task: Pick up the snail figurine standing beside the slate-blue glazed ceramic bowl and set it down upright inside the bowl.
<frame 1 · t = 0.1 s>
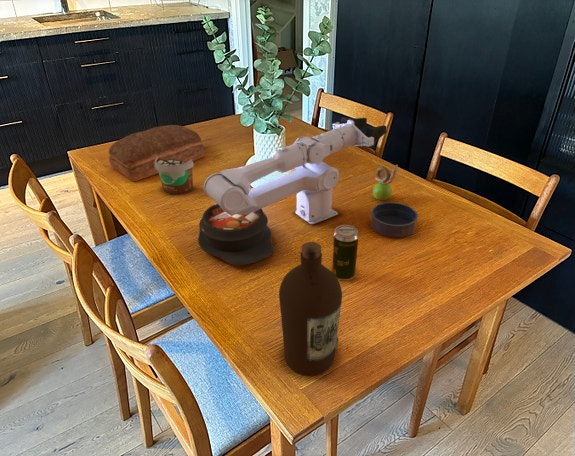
hand: (375, 125, 126), 22 cm above the table, tool horizontal, fingers open, 7 cm apart
casserole: (235, 242, 117), on the table
food container: (174, 192, 141), on the table
snail figurine: (382, 200, 135), on the table
bowl: (392, 226, 123), on the table
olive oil: (309, 357, 86), on the table
bread: (159, 163, 159), on the table
beer can: (343, 274, 106), on the table
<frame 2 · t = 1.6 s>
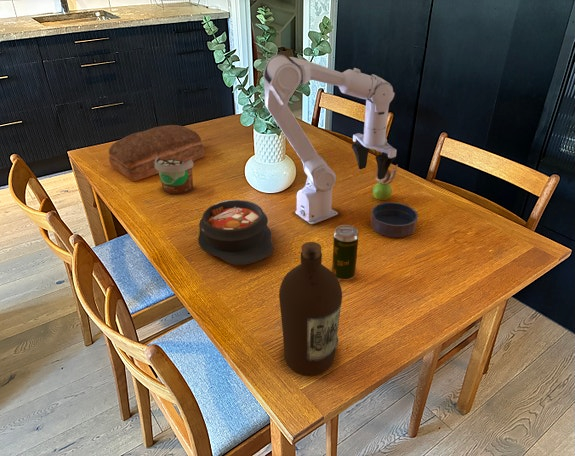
hand: (371, 173, 126), 10 cm above the table, tool pointing down, fingers open, 7 cm apart
nothing on the table moved.
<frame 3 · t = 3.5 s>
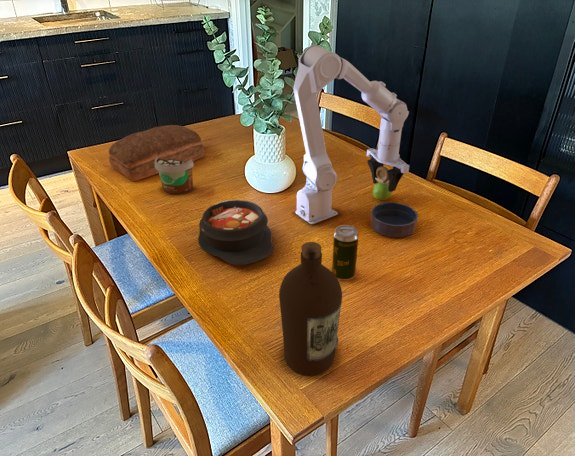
hand: (384, 186, 132), 4 cm above the table, tool pointing down, fingers closed on snail figurine, 6 cm apart
snail figurine: (382, 200, 135), on the table, touching gripper
everything else where it was.
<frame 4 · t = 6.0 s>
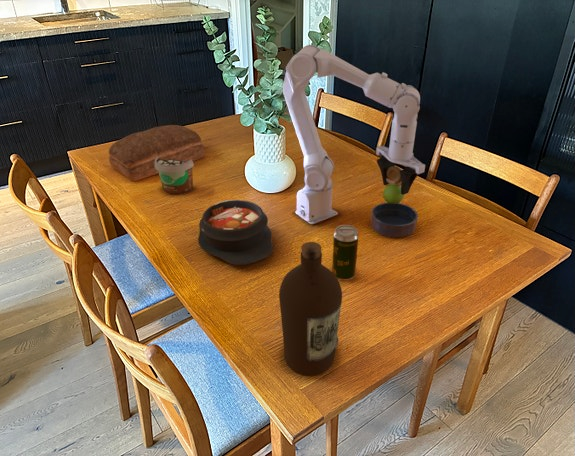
hand: (395, 188, 118), 10 cm above the table, tool pointing down, fingers closed on snail figurine, 6 cm apart
snail figurine: (393, 204, 121), point 6 cm above the table, touching gripper
everything else where it was.
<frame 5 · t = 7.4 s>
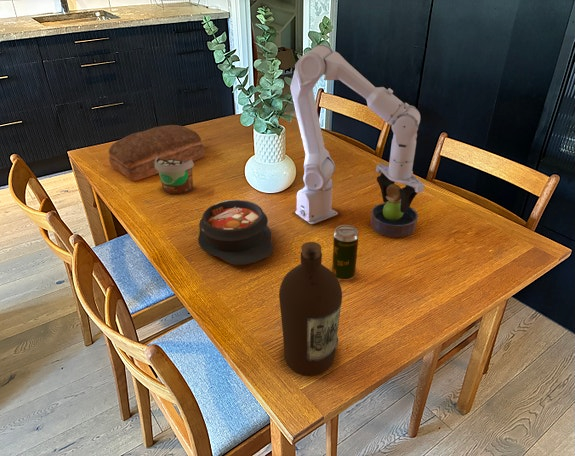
hand: (395, 206, 119), 6 cm above the table, tool pointing down, fingers closed on snail figurine, 6 cm apart
snail figurine: (393, 221, 122), point 2 cm above the table, touching gripper
everything else where it was.
when the fingers open (5 cm above the table, at t = 8.4 s): snail figurine stays where it is, resting on bowl.
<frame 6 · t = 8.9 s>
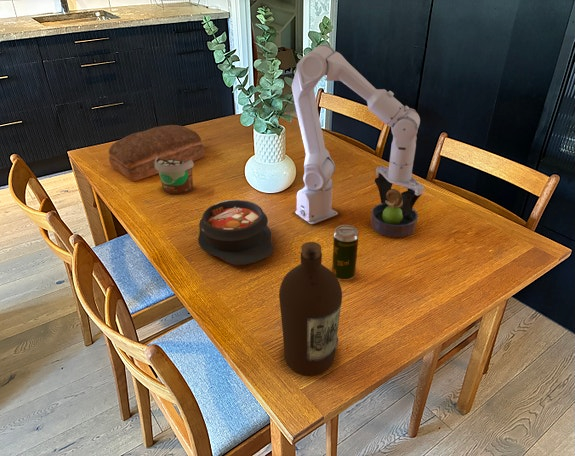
hand: (395, 208, 120), 6 cm above the table, tool pointing down, fingers open, 7 cm apart
snail figurine: (393, 225, 122), resting on bowl
everything else where it was.
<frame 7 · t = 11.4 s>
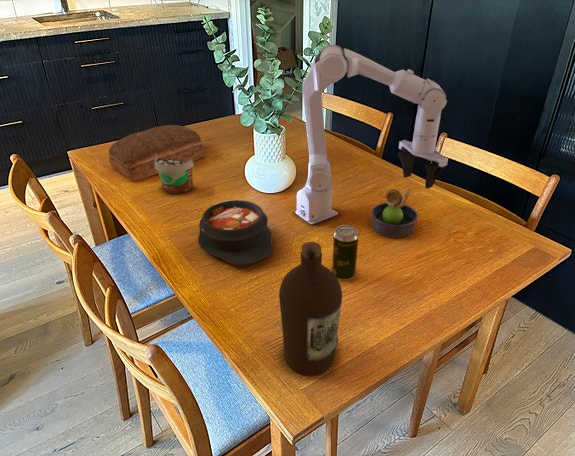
hand: (417, 181, 122), 10 cm above the table, tool pointing down, fingers open, 7 cm apart
nothing on the table moved.
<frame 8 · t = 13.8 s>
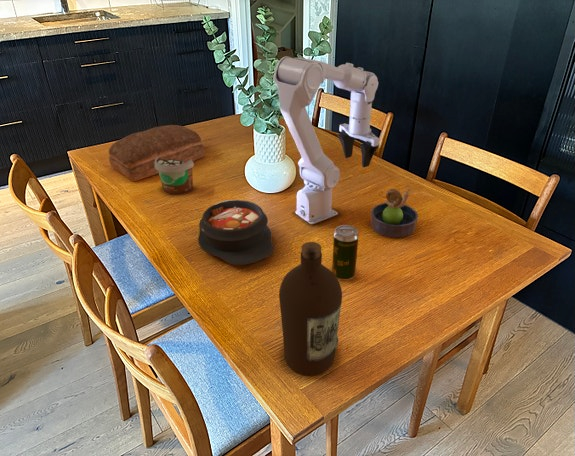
hand: (356, 161, 133), 10 cm above the table, tool pointing down, fingers open, 7 cm apart
nothing on the table moved.
at the end: snail figurine 0.0 cm off-centre in the bowl, point 0.3 cm above the bowl's base; snail figurine tilted 0°; the gripper is holding nothing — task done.
